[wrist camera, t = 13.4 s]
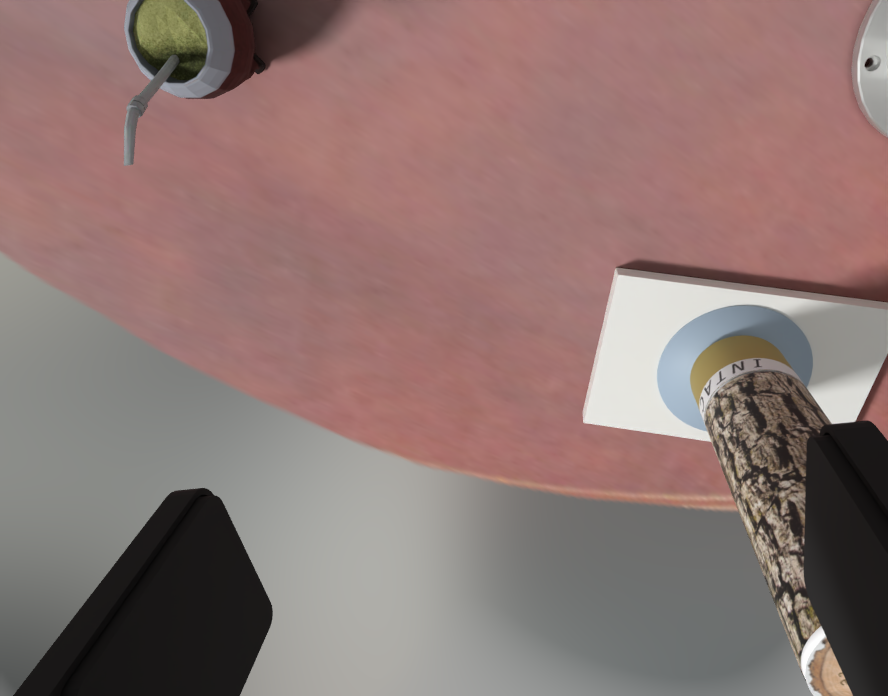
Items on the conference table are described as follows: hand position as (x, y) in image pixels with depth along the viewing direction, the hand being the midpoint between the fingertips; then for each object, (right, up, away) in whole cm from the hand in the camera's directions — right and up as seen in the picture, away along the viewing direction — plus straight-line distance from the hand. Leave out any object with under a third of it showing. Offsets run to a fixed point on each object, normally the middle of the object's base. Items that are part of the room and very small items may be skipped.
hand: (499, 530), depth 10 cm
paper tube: (+21, +1, +38) cm, 44 cm away
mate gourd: (-15, +24, +34) cm, 44 cm away
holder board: (+21, +2, +40) cm, 45 cm away
